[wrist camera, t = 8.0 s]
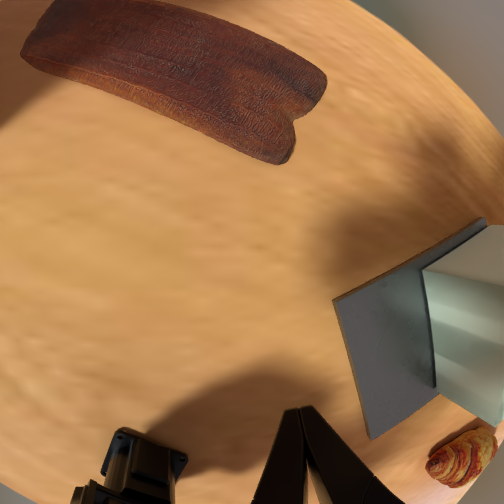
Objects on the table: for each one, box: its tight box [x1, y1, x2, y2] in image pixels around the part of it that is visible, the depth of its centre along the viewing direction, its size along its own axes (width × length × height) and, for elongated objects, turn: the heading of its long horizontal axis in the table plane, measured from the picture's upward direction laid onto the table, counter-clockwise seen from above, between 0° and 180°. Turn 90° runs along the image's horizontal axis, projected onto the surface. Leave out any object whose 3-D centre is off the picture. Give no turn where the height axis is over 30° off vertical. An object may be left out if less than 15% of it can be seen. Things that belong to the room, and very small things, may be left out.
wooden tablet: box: [20, 0, 326, 165], centre depth 18 cm, size 27×10×2 cm, turn 64°
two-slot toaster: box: [422, 225, 504, 427], centre depth 21 cm, size 12×14×9 cm
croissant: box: [425, 426, 498, 488], centre depth 27 cm, size 21×10×8 cm, turn 70°
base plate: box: [332, 217, 487, 441], centre depth 20 cm, size 20×16×11 cm
